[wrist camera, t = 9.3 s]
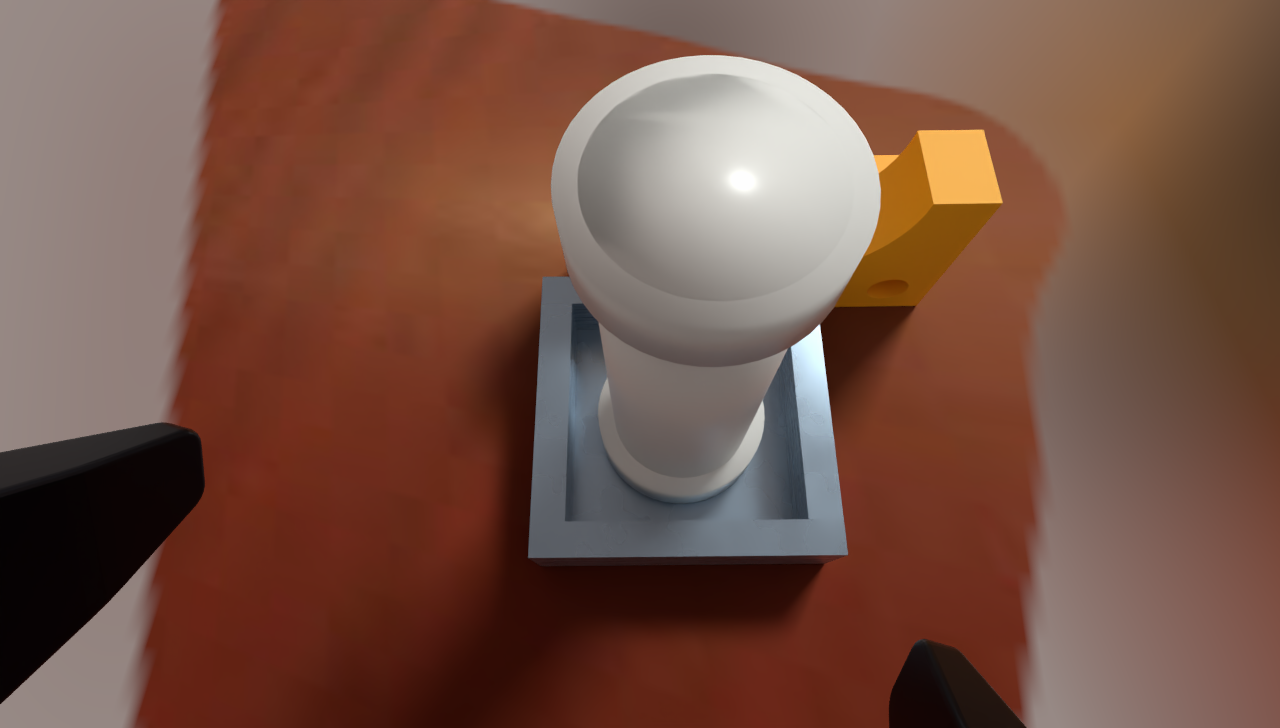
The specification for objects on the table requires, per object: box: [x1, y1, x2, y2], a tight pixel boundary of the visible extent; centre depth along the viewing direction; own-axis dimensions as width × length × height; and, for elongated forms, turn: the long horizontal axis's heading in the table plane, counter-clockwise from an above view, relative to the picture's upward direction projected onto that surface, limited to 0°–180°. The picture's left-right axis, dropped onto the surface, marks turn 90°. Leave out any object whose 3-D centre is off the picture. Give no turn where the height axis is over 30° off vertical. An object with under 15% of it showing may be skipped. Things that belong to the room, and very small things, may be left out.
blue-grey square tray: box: [528, 277, 848, 566], centre depth 22 cm, size 9×9×2 cm
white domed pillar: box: [551, 55, 881, 504], centre depth 16 cm, size 5×5×13 cm
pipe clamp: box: [835, 130, 1003, 307], centre depth 22 cm, size 12×4×6 cm, turn 91°
